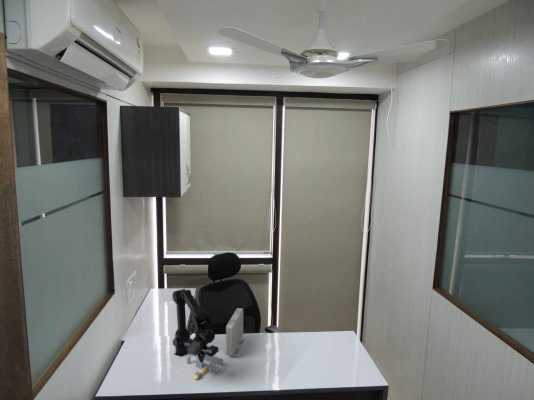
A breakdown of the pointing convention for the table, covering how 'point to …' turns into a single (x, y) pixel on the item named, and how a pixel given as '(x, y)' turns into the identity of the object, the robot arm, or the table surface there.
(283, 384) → the table surface
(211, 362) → the pipe mounting panel
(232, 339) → the network device
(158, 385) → the table surface
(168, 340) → the table surface
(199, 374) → the yellow capsule with collar
